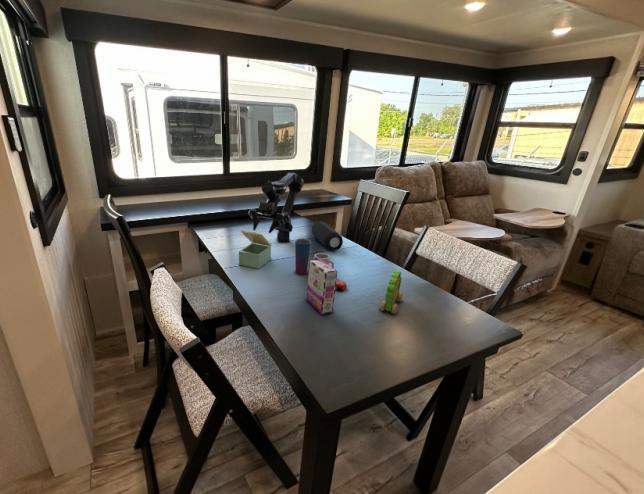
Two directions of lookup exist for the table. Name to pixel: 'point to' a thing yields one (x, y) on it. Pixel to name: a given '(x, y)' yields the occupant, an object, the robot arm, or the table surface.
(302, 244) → the cup
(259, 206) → the robot arm
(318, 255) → the mug
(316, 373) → the table surface
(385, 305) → the green toy caterpillar
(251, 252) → the green hinged box
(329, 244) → the portable speaker
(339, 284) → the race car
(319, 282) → the candy bar box
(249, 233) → the lid
